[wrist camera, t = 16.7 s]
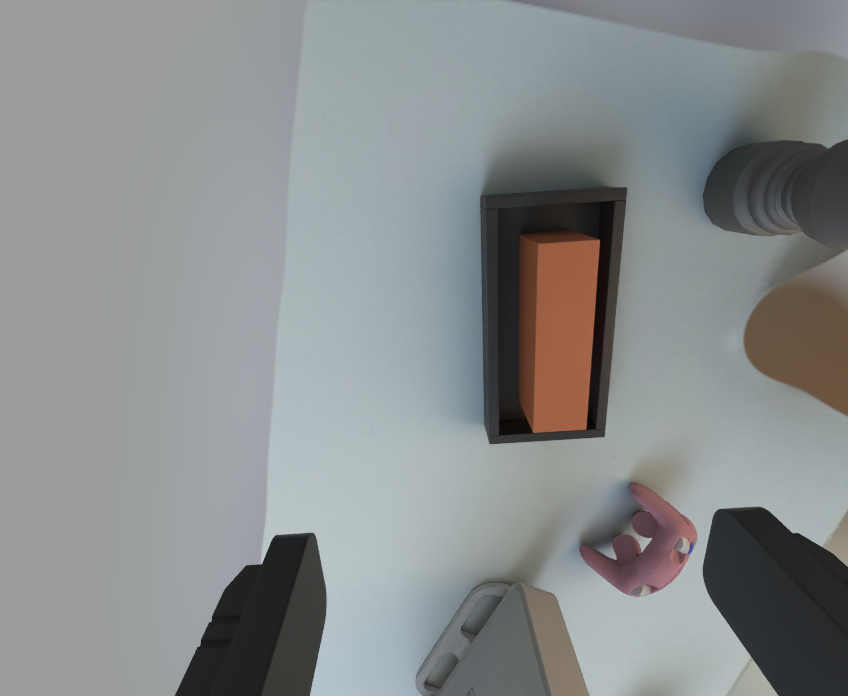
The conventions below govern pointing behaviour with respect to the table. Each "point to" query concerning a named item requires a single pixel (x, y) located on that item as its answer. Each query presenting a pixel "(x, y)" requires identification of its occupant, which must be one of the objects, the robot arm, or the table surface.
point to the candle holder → (782, 191)
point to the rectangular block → (556, 327)
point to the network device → (508, 648)
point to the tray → (500, 298)
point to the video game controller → (658, 558)
